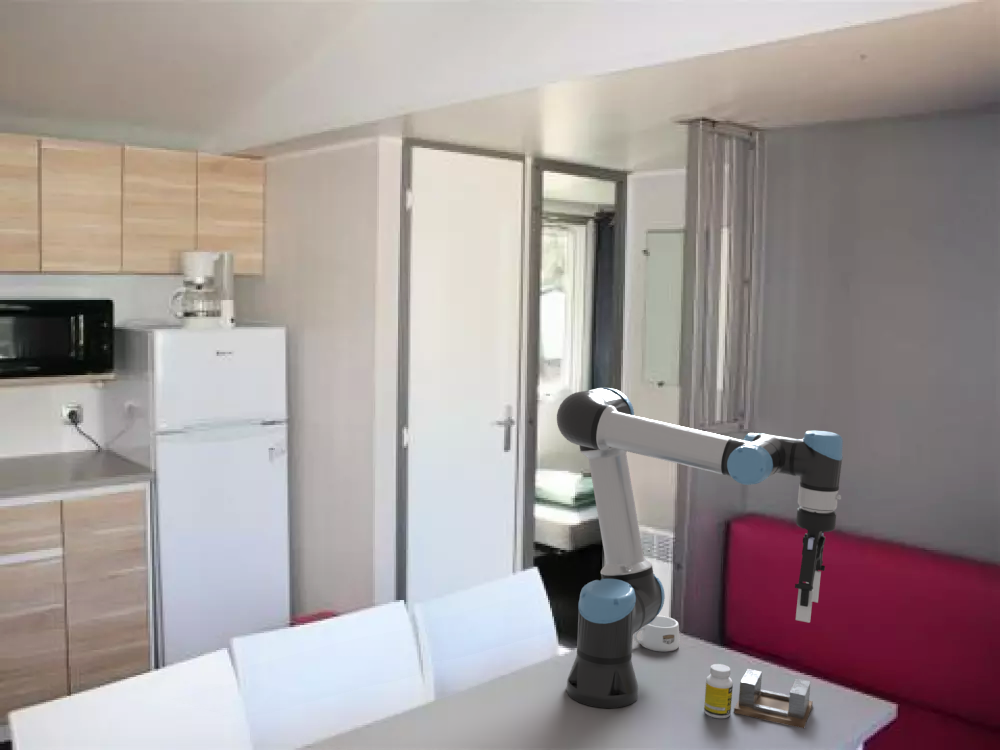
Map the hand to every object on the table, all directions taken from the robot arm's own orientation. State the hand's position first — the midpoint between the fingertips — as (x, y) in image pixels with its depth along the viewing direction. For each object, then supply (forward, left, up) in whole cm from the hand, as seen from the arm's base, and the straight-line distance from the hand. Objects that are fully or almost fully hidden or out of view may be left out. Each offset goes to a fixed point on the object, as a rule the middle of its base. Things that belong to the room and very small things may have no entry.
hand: (807, 610), depth 198 cm
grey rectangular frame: (-5, +1, -23) cm, 23 cm away
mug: (-37, +23, -23) cm, 50 cm away
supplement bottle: (-15, -7, -23) cm, 28 cm away
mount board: (-5, +1, -23) cm, 23 cm away
